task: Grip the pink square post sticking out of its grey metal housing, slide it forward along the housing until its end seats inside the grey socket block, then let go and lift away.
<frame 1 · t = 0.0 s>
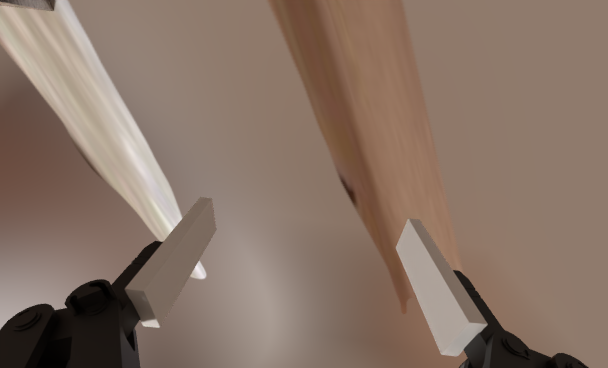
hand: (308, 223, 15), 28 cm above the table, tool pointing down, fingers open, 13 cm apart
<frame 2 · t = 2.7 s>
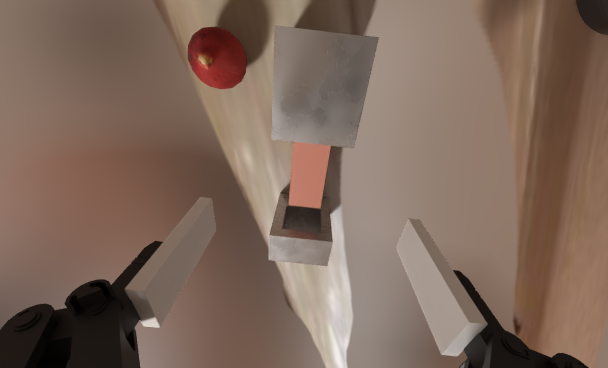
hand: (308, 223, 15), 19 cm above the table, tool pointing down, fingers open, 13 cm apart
housing: (317, 83, 28), on the table
pink square post: (313, 131, 25), point 6 cm above the table, slide at 0.0 cm
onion: (230, 59, 27), on the table
socket: (303, 206, 37), on the table
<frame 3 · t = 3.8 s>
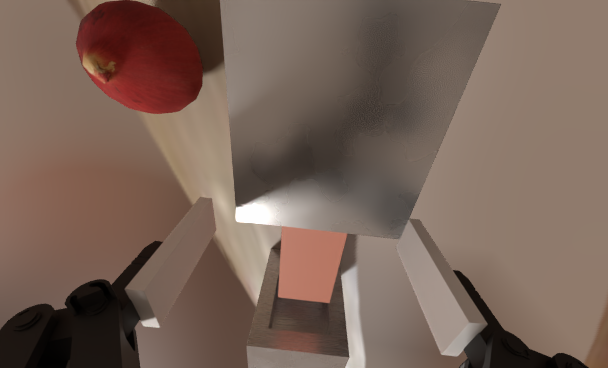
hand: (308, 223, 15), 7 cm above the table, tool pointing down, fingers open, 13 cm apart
housing: (326, 99, 17), on the table
pink square post: (318, 187, 14), point 6 cm above the table, slide at 0.0 cm
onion: (184, 61, 17), on the table
socket: (303, 265, 27), on the table
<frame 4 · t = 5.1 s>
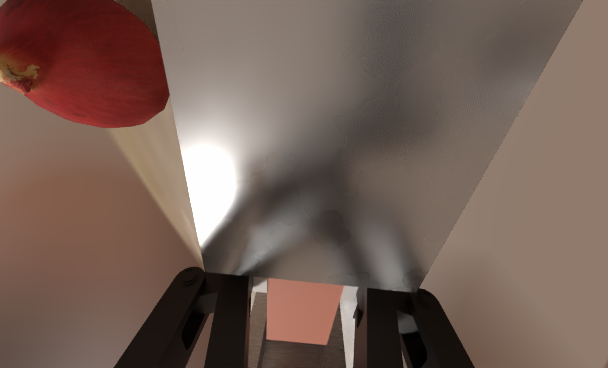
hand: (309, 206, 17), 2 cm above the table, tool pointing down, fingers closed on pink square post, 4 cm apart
housing: (320, 107, 15), on the table
pink square post: (312, 216, 12), point 6 cm above the table, slide at 0.0 cm, touching gripper
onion: (152, 64, 14), on the table
socket: (297, 287, 24), on the table
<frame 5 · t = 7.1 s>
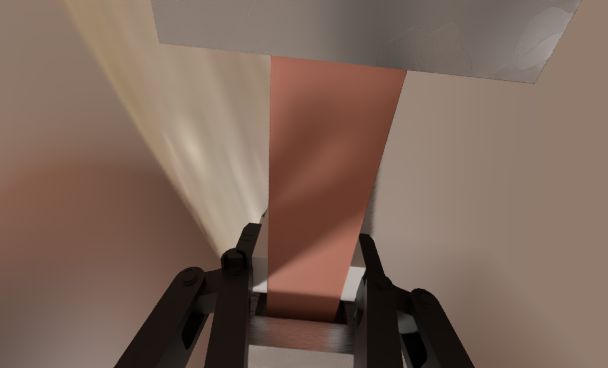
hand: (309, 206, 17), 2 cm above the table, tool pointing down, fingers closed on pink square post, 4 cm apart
pink square post: (312, 215, 12), point 6 cm above the table, slide at 7.2 cm, touching gripper
socket: (303, 239, 21), on the table
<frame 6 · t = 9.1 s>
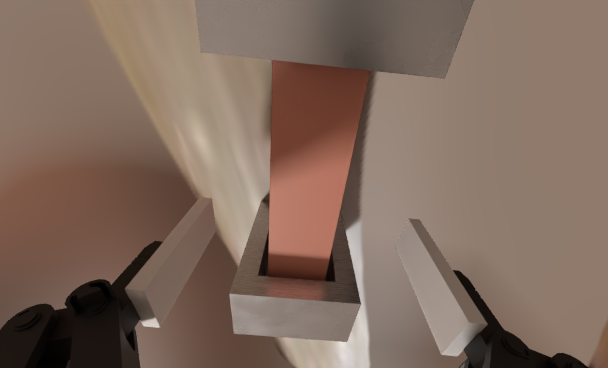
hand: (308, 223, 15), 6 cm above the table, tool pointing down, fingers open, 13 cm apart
pink square post: (305, 191, 14), point 6 cm above the table, slide at 7.3 cm
socket: (299, 222, 23), on the table
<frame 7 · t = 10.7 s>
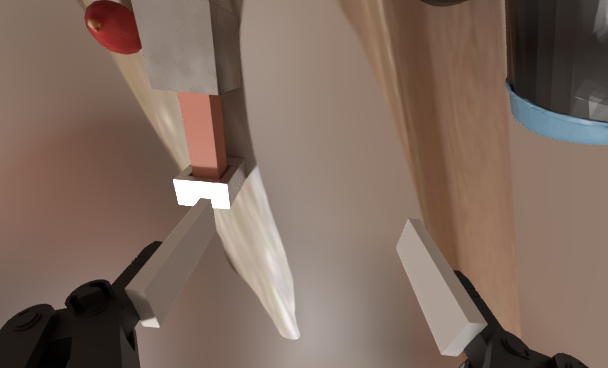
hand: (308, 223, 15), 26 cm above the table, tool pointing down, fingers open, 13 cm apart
housing: (213, 51, 33), on the table
pink square post: (206, 139, 34), point 6 cm above the table, slide at 7.3 cm
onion: (137, 32, 32), on the table
socket: (224, 167, 42), on the table
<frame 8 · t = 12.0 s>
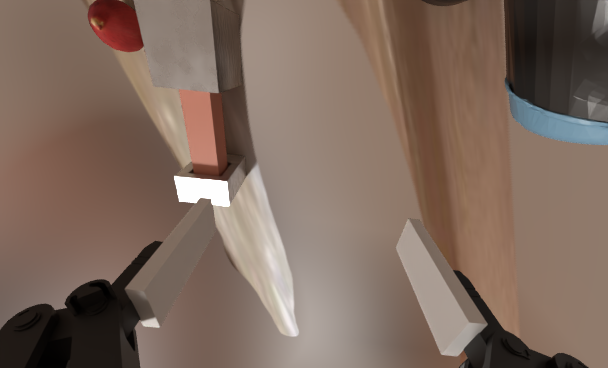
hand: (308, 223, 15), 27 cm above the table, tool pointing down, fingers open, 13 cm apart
housing: (214, 49, 33), on the table
pink square post: (207, 137, 34), point 6 cm above the table, slide at 7.3 cm
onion: (140, 29, 33), on the table
socket: (225, 164, 43), on the table
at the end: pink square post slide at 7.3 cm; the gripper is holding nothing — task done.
